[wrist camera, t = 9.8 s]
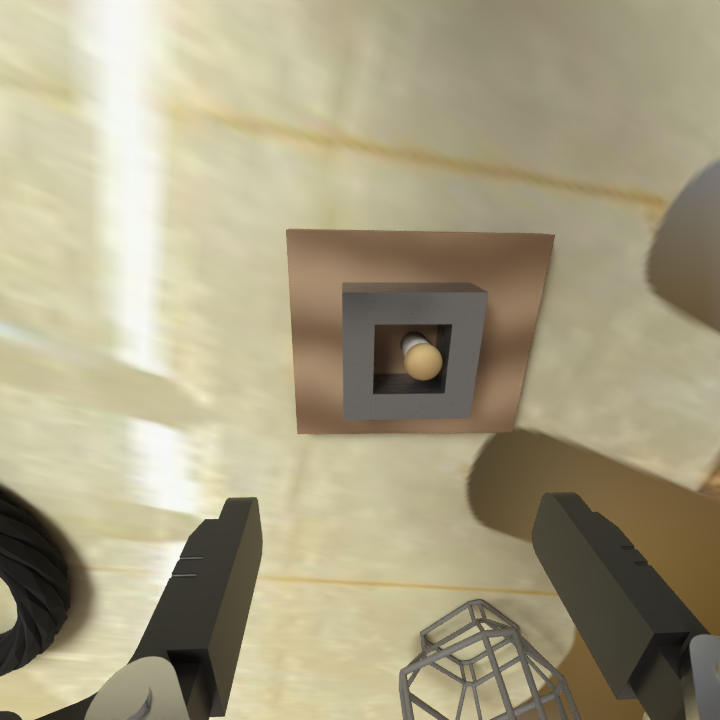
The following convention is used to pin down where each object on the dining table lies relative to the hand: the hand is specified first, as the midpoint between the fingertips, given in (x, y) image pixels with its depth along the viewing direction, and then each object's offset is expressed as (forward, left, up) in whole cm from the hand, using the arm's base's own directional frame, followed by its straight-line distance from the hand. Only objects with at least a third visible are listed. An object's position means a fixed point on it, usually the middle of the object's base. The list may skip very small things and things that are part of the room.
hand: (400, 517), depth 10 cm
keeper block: (0, +3, -16) cm, 16 cm away
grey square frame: (0, +2, -15) cm, 15 cm away
